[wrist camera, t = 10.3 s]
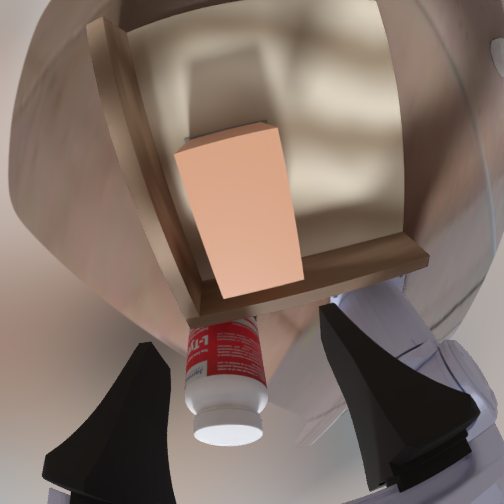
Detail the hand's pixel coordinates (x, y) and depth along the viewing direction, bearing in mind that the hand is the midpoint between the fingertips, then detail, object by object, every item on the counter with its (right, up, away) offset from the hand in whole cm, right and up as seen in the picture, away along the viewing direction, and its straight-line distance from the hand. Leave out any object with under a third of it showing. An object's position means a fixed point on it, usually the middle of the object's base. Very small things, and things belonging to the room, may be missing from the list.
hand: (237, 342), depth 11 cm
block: (0, +8, +7) cm, 10 cm away
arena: (+3, +11, +6) cm, 13 cm away
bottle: (+27, +24, +1) cm, 37 cm away
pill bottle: (-2, -3, +14) cm, 14 cm away
